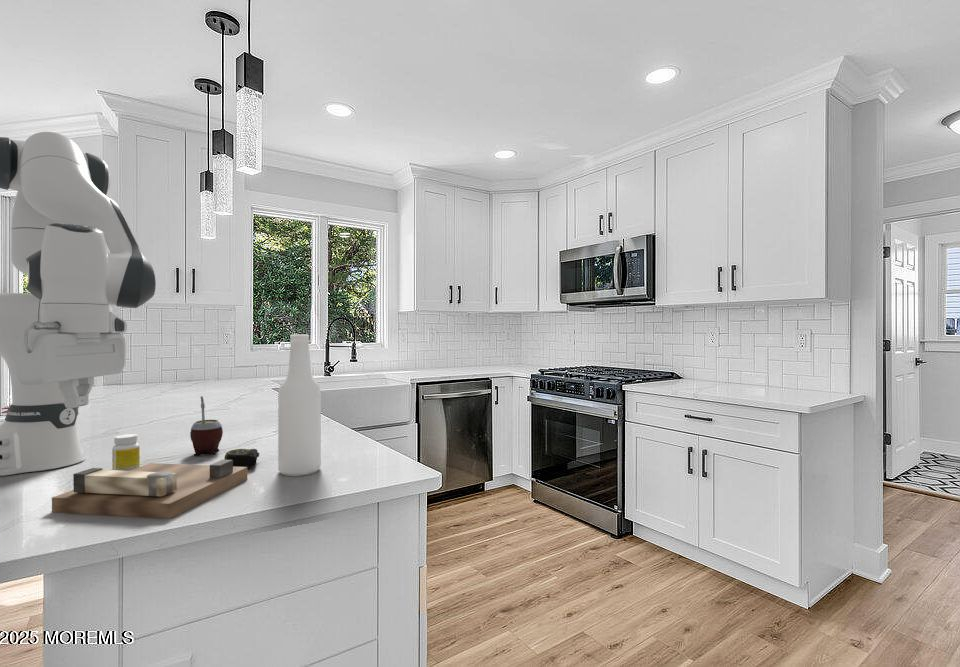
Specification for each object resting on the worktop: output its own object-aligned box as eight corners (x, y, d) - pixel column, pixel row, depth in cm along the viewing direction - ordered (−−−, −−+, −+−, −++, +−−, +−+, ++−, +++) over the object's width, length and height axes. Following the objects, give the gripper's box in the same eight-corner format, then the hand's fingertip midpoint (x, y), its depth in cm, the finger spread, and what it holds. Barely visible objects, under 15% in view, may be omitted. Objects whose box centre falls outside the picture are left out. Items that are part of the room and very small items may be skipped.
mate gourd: (211, 448, 131) (211, 390, 131) (230, 452, 127) (230, 393, 127) (182, 455, 125) (182, 394, 125) (201, 459, 121) (201, 396, 121)
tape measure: (256, 470, 112) (256, 453, 112) (221, 473, 110) (221, 456, 110) (259, 462, 119) (259, 446, 119) (227, 465, 117) (227, 448, 117)
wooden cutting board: (51, 512, 87) (51, 482, 86) (151, 474, 108) (151, 451, 108) (169, 518, 84) (169, 488, 84) (247, 479, 106) (247, 455, 105)
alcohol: (280, 479, 106) (280, 334, 105) (276, 468, 113) (276, 334, 113) (324, 473, 110) (324, 334, 109) (317, 463, 117) (316, 334, 117)
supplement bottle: (144, 473, 109) (144, 434, 109) (121, 479, 105) (121, 439, 105) (130, 471, 111) (130, 432, 111) (107, 476, 107) (107, 436, 107)
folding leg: (178, 489, 90) (178, 471, 90) (162, 496, 86) (161, 478, 86) (92, 485, 92) (92, 467, 92) (73, 492, 88) (73, 473, 88)
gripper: (48, 321, 73) (49, 417, 73) (132, 323, 93) (133, 397, 94) (1, 321, 73) (2, 418, 73) (96, 322, 93) (96, 398, 93)
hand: (76, 406), depth 83 cm, fingers closed
